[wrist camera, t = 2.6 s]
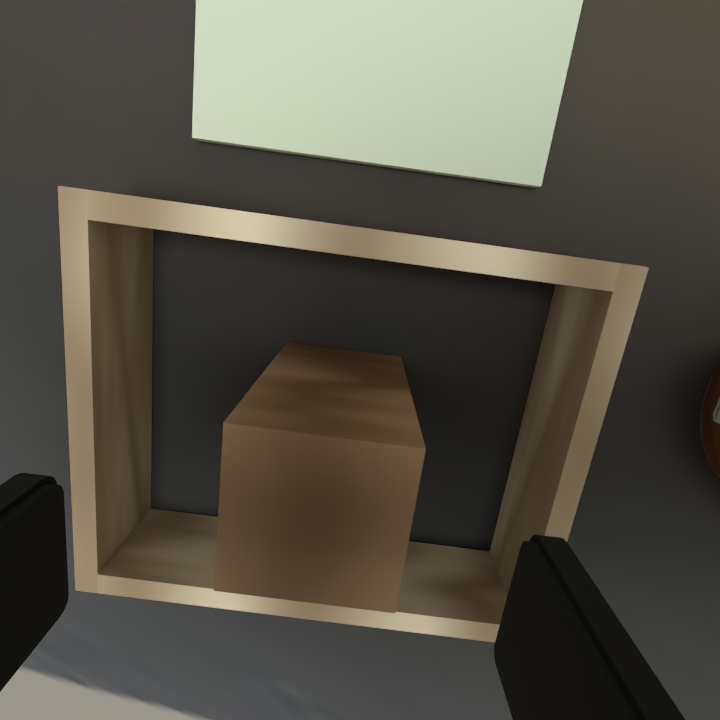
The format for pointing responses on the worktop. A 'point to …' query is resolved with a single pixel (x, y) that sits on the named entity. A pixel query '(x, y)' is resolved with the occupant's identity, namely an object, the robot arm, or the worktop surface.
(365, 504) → the walnut block
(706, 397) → the food container
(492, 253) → the access box
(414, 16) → the mat
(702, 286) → the worktop surface
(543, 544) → the robot arm
